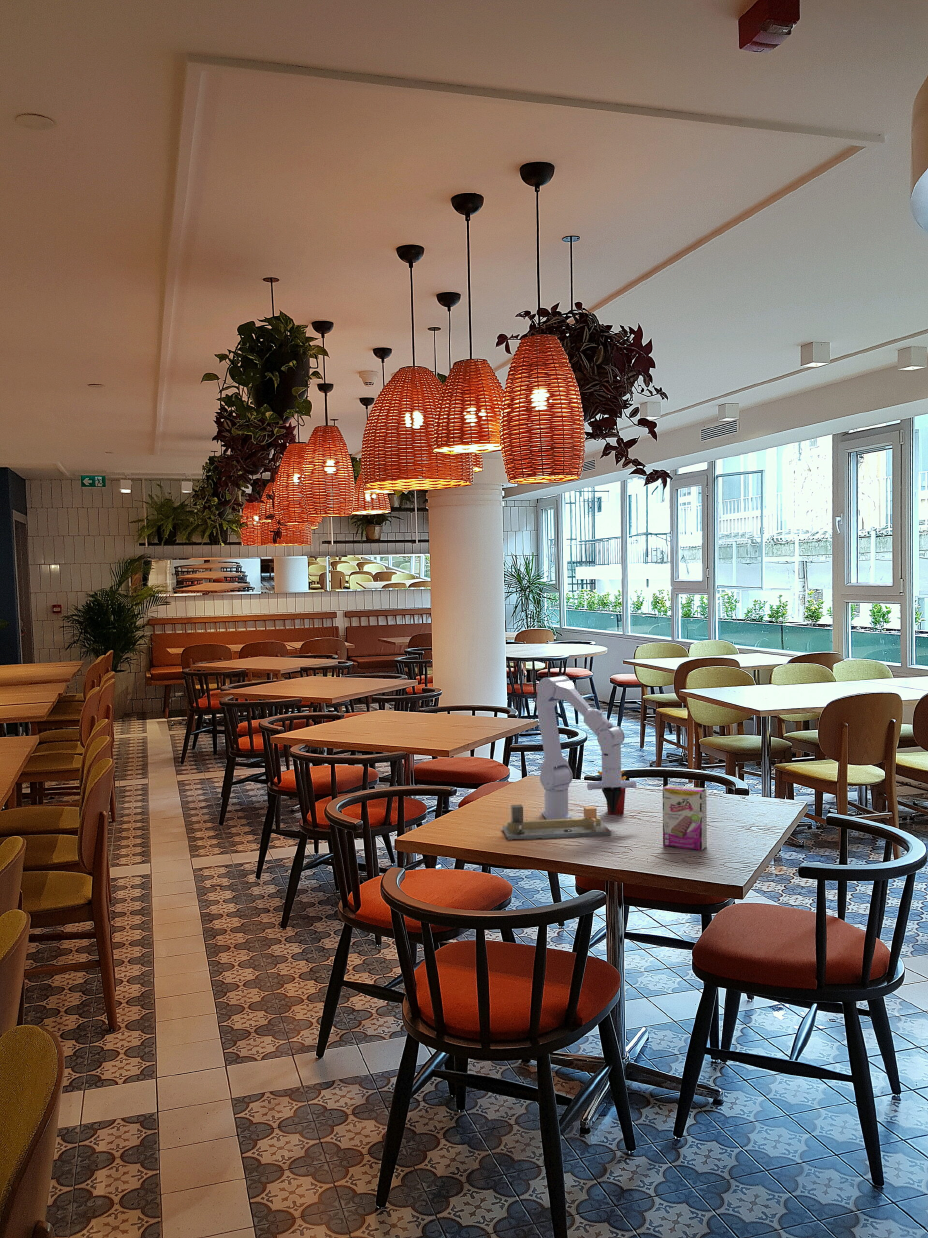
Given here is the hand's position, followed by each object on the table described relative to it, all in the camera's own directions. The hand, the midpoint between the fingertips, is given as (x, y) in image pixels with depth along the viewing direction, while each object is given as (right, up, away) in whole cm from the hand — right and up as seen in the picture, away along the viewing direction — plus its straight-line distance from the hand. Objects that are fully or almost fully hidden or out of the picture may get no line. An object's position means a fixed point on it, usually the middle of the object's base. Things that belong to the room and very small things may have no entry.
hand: (612, 812), depth 284 cm
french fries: (+3, -4, +17) cm, 18 cm away
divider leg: (-6, -3, -3) cm, 8 cm away
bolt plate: (-17, -5, -4) cm, 18 cm away
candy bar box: (+17, -5, -22) cm, 28 cm away
